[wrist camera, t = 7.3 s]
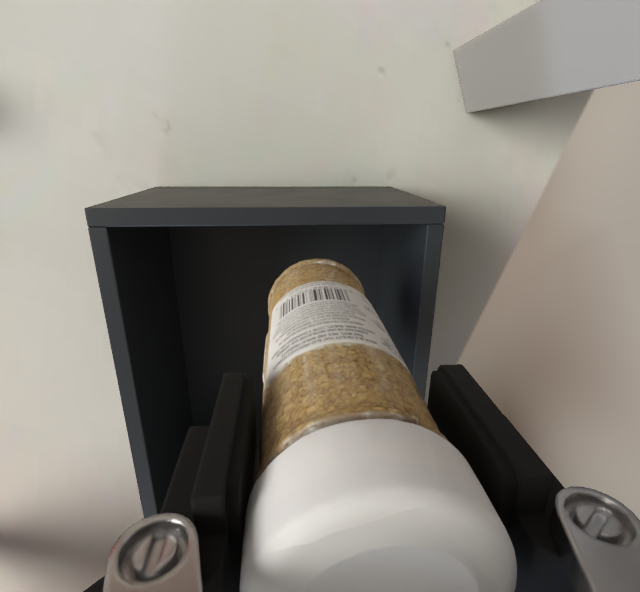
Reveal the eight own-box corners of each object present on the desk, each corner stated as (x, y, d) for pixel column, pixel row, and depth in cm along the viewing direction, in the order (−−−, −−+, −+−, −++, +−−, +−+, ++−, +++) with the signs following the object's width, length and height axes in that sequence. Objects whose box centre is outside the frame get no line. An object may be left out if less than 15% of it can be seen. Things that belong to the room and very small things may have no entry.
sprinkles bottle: (267, 345, 19) (235, 715, 7) (269, 252, 18) (231, 507, 5) (361, 346, 20) (495, 695, 7) (370, 256, 18) (564, 499, 6)
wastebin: (155, 186, 26) (83, 208, 17) (391, 186, 27) (446, 206, 18) (190, 453, 34) (154, 571, 24) (374, 443, 35) (407, 552, 25)
